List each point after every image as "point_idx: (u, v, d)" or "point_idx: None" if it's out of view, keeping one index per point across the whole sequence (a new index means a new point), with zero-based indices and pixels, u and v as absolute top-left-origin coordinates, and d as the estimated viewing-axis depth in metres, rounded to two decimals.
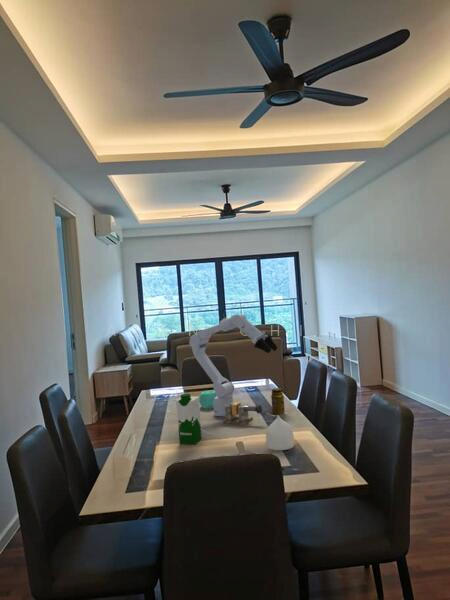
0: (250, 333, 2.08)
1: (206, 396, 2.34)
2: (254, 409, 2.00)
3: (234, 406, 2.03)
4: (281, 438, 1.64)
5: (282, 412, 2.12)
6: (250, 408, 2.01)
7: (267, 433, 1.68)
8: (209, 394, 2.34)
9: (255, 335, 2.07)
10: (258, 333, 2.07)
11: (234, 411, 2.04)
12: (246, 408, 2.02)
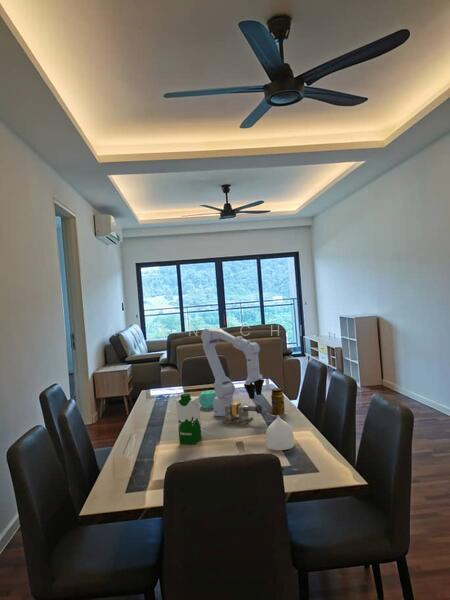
0: (250, 370, 2.05)
1: (206, 396, 2.34)
2: (254, 409, 2.00)
3: (234, 406, 2.03)
4: (281, 438, 1.64)
5: (282, 412, 2.12)
6: (250, 408, 2.01)
7: (267, 433, 1.68)
8: (209, 394, 2.34)
9: (252, 375, 2.05)
10: (256, 376, 2.05)
11: (234, 411, 2.04)
12: (246, 408, 2.02)
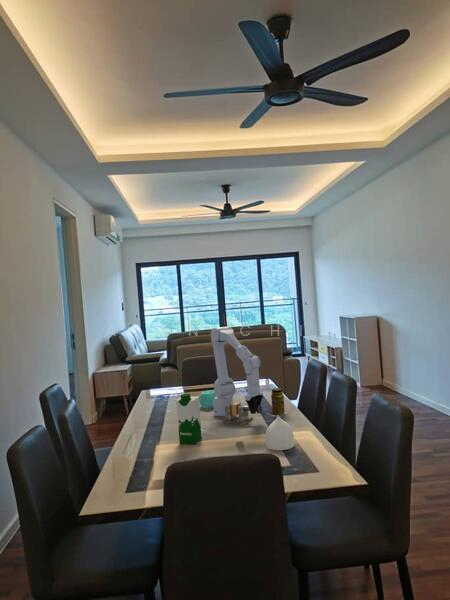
0: (250, 385, 1.99)
1: (206, 396, 2.34)
2: None
3: (234, 406, 2.03)
4: (281, 438, 1.64)
5: (282, 412, 2.12)
6: None
7: (267, 433, 1.68)
8: (209, 394, 2.34)
9: (252, 391, 1.98)
10: (256, 391, 1.98)
11: (234, 411, 2.04)
12: (246, 408, 2.02)
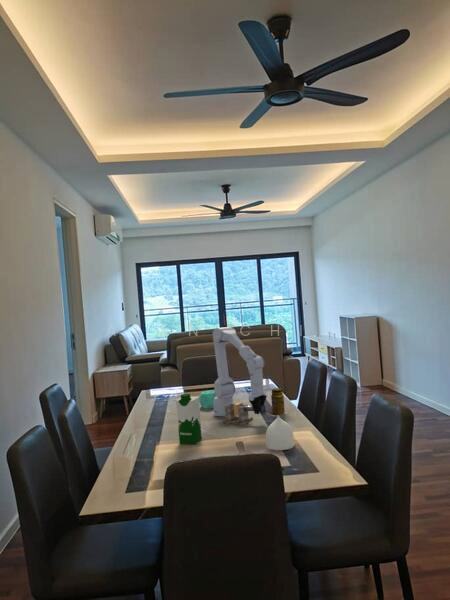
0: (254, 385, 1.98)
1: (206, 396, 2.34)
2: None
3: (236, 406, 2.03)
4: (281, 438, 1.64)
5: (282, 412, 2.12)
6: None
7: (267, 433, 1.68)
8: (209, 394, 2.34)
9: (256, 391, 1.97)
10: (260, 391, 1.98)
11: (236, 411, 2.03)
12: (250, 408, 2.01)
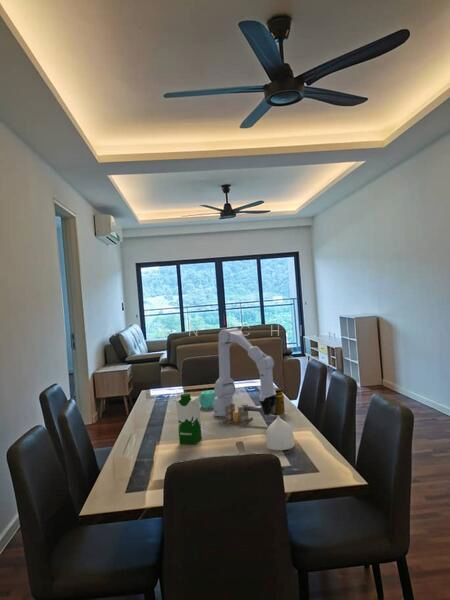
0: (264, 385, 1.95)
1: (206, 396, 2.34)
2: None
3: (236, 414, 2.03)
4: (281, 438, 1.64)
5: (282, 412, 2.12)
6: None
7: (267, 433, 1.68)
8: (209, 394, 2.34)
9: (266, 391, 1.95)
10: (270, 392, 1.95)
11: (236, 419, 2.03)
12: (259, 409, 1.99)
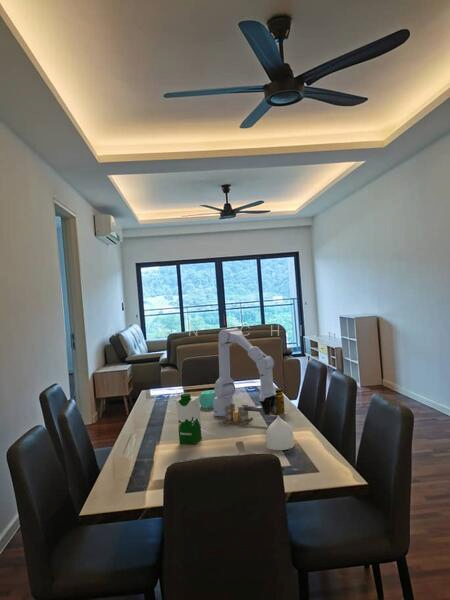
0: (264, 386, 1.95)
1: (206, 396, 2.34)
2: None
3: (236, 414, 2.03)
4: (281, 438, 1.64)
5: (282, 412, 2.12)
6: None
7: (267, 433, 1.68)
8: (209, 394, 2.34)
9: (266, 391, 1.95)
10: (270, 392, 1.95)
11: (236, 419, 2.03)
12: (260, 409, 1.99)
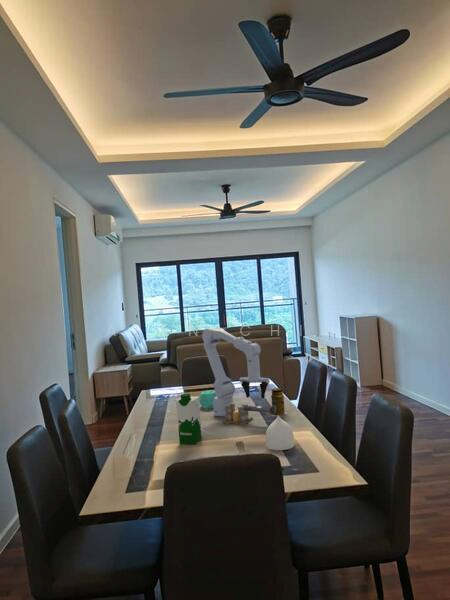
0: None
1: (206, 396, 2.34)
2: (269, 410, 1.97)
3: (236, 414, 2.03)
4: (281, 438, 1.64)
5: (282, 412, 2.12)
6: (265, 409, 1.98)
7: (267, 433, 1.68)
8: (209, 394, 2.34)
9: (248, 375, 2.07)
10: (249, 377, 2.06)
11: (236, 419, 2.03)
12: (260, 409, 1.99)
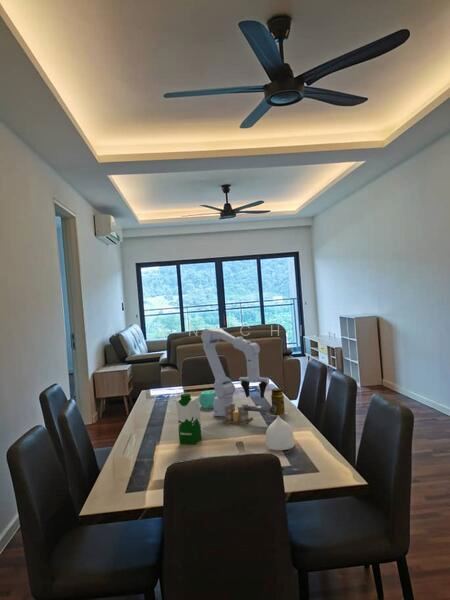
0: None
1: (206, 396, 2.34)
2: (269, 410, 1.97)
3: (236, 414, 2.03)
4: (281, 438, 1.64)
5: (282, 412, 2.12)
6: (265, 409, 1.98)
7: (267, 433, 1.68)
8: (209, 394, 2.34)
9: None
10: (248, 376, 2.06)
11: (236, 419, 2.03)
12: (260, 409, 1.99)
